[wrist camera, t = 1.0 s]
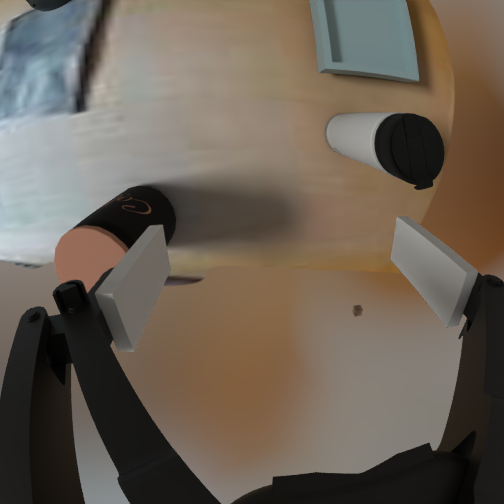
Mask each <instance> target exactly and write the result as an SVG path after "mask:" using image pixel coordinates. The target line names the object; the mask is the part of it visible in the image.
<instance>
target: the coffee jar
mask: <svg viewBox="0 0 504 504" xmlns="http://www.w3.org/2000/svg"><path fill="white" fill-rule="evenodd" d="M175 224H176V217H175V213H174V209H173V207H172V205H171V204H170V202H169V200H168V199H167V198H166V197H165V196H164V195H163V194H162V193H161V192H159V191H158V190H155V189H153V188H151V187H147V186H136V187H132V188H129V189H127V190H126V191H124V192H123V193H121V194H120V195H118V196H117V197H115V198H114V199H112V200H111V201H109V202H108V203H106V204H105V205H103V206H102V207H100V208H99V209H98V210H96V211H95V212H93V213H92V214H91V215H89V216H88V217H86V218H85V219H84V220H82V221H81V222H80V223H79V224H77V225H76V226H75V227H74V228H73V229H71V230H69V231H68V232H67V233H66V234H65V235H63V236H62V237H61V238H60V241H59V243H58V245H57V247H56V249H55V259H54V262H55V268H56V273H57V276H58V278H59V280H60V282H61V284H62V283H64V282H67V281H70V280H81V281H82V282H83V283H84V286H85V289H86V291H87V293H88V292H89V291H90V289H91V288H92V287H93V286H94V284H95V283H96V282H97V281H98V279H99V278H100V277H101V276H102V274H103V273H104V272H106V271H107V270H109V269H110V268H115V266H116V265H117V264H118V263H119V261H120V260H121V259H122V258H123V257H124V255H125V254H126V253H127V252H128V251H129V249H130V248H131V247H132V246H133V245H134V243H135V242H136V241H137V240H138V239H139V237H140V236H141V235H142V234H143V233H144V232H145V231H146V229H147V228H148V227H149V226H152V225H163V229H164V235H165V241H166V247H167V245H168V243H169V241H170V240H171V238H172V236H173V233H174V231H175Z"/></svg>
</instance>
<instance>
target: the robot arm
mask: <svg viewBox="0 0 504 504" xmlns="http://www.w3.org/2000/svg"><path fill="white" fill-rule="evenodd" d="M26 1H27V2H28V3H29V4H30V6H31V7H33V8H34V9H37V10H40V11H50V10H54V9H56V8H58V7H60V6H62V5H64V4H65V3H67V2H68V1H69V0H26ZM390 260H391V261H392V262H393V263H394V264H395V265H396V266H397V267H398V268H399V270H400V271H401V272H402V273H403V274H404V275H405V276H406V278H407V279H408V280H409V281H410V282H411V283H412V285H413V286H414V287H415V288H416V289H417V291H418V292H419V293H420V294H421V296H422V297H423V298H424V299H425V300H426V302H427V303H428V304H429V305H430V306H431V308H432V309H433V310H434V312H435V313H436V314H437V316H438V317H439V318H440V319H441V321H442V322H443V323H444V325H445V326H446V327H447V328H448V327H452V326H456V325H459V322H460V320H461V318H462V315H463V314H464V315H465V316H466V317H467V320H466V322H465V325H464V327H463V329H462V331H461V333H460V335H459V339H460V338H461V336H463V342H462V350H461V358H460V364H459V371H458V377H457V382H456V387H455V392H454V396H453V401H452V405H451V409H450V413H449V417H448V420H447V424H446V428H445V431H444V434H443V438H442V441H441V443H440V445H439V447H438V449H437V450H436V451H432V449H431V446H430V443H427V444H424V445H421V446H419V447H416V448H413V449H411V450H407V451H405V452H402V453H398V454H396V455H394V456H393V457H391V458H389V459H388V460H386V461H384V462H382V463H380V464H379V465H377V466H375V467H373V468H371V469H370V470H367V471H365V472H363V473H359V474H341V473H319V472H315V473H308V474H299V475H289V476H278V477H273V482H272V485H269V486H265V487H262V488H259V489H257V490H254V491H251V492H249V493H247V494H245V495H243V496H242V497H240V498H238V499H237V500H235V501H234V502H233V503H231V504H504V282H503V281H502V280H501V279H499V278H498V277H496V276H493V275H484V276H482V275H481V274H480V273H479V272H478V271H477V270H476V269H475V268H473V267H472V266H471V265H470V264H469V263H468V262H466V261H465V260H464V259H463V258H462V257H460V256H459V255H458V254H457V253H456V252H454V251H453V250H452V249H451V248H449V247H448V246H447V245H445V244H444V243H443V242H441V241H440V240H439V239H438V238H436V237H435V236H434V235H432V234H431V233H430V232H428V231H427V230H426V229H424V228H423V227H422V226H420V225H419V224H418V223H416V222H415V221H413V220H412V219H411V218H409V217H408V216H397V221H396V228H395V235H394V241H393V247H392V253H391V258H390ZM170 270H171V268H170V263H169V258H168V252H167V247H166V241H165V235H164V229H163V225H152V226H149V227H148V228H147V229H146V231H145V232H144V233H143V234H142V235H141V236H140V237H139V239H138V240H137V241H136V242H135V243H134V245H133V246H132V247H131V248H130V249H129V251H128V252H127V253H126V254H125V255H124V257H123V258H122V259H121V260H120V261H119V263H118V264H117V265H116V266H115V268H110V269H109V270H107V271H106V272H104V273H103V274H102V276H101V277H100V278H99V279H98V281H97V282H96V283H95V284H94V286H93V287H92V288H91V289H90V291H89V292H88V293H87V291H86V289H85V286H84V283H83V282H82V281H81V280H70V281H67V282H64V283H62V284H61V285H59V286H58V287H57V288H56V289H55V290H54V291H53V297H54V299H55V302H56V304H57V306H58V309H59V311H60V313H61V314H59V315H54V316H48V314H47V312H46V309H45V308H44V307H34V308H30V309H29V310H27V311H26V312H25V313H24V314H23V315H22V317H21V319H20V322H19V325H18V328H17V331H16V334H15V337H14V341H13V344H12V348H11V351H10V356H9V359H8V363H7V367H6V372H5V376H4V381H3V386H2V391H1V397H0V504H85V501H84V497H83V492H82V488H81V483H80V479H79V478H80V477H79V472H78V466H77V459H76V452H75V444H74V436H73V435H74V434H73V423H72V406H71V363H73V365H74V368H75V371H76V374H77V378H78V381H79V384H80V387H81V390H82V392H83V395H84V398H85V400H86V403H87V406H88V408H89V411H90V413H91V416H92V418H93V421H94V422H95V425H96V428H97V430H98V432H99V434H100V436H101V439H102V441H103V443H104V445H105V447H106V449H107V451H108V453H109V455H110V457H111V459H112V461H113V463H114V465H115V466H116V468H117V471H118V472H119V477H118V478H117V479H118V483H119V485H120V487H121V489H122V491H123V493H124V494H125V496H126V498H127V499H128V501H129V502H130V504H221V503H220V502H219V501H218V500H217V499H216V498H215V497H214V496H213V495H212V494H211V493H210V491H209V490H208V489H207V488H206V487H205V486H204V485H203V484H202V483H201V481H200V480H199V479H198V478H197V477H196V476H195V474H194V473H193V472H192V471H191V470H190V469H189V467H188V466H187V465H186V464H185V463H184V461H183V460H182V459H181V457H180V456H179V455H178V454H177V452H175V450H174V449H173V448H172V446H171V445H170V444H169V442H168V441H167V440H166V438H165V437H164V436H163V434H162V433H161V431H160V430H159V428H158V427H157V426H156V424H155V423H154V421H153V420H152V418H151V417H150V415H149V414H148V412H147V410H146V409H145V407H144V406H143V404H142V402H141V401H140V399H139V398H138V396H137V394H136V393H135V391H134V389H133V388H132V386H131V384H130V382H129V381H128V379H127V377H126V376H125V373H124V372H123V370H122V368H121V366H120V364H119V362H118V360H117V359H116V357H115V355H114V353H113V351H112V349H111V347H110V345H111V343H112V341H114V343H115V345H116V347H117V349H118V350H120V351H132V352H134V351H135V349H136V346H137V344H138V342H139V339H140V337H141V335H142V332H143V330H144V327H145V325H146V323H147V321H148V318H149V316H150V313H151V311H152V309H153V307H154V305H155V303H156V300H157V298H158V296H159V294H160V291H161V289H162V287H163V285H164V283H165V281H166V279H167V277H168V274H169V272H170Z"/></svg>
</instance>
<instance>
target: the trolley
mask: <svg viewBox="0 0 504 504" xmlns="http://www.w3.org/2000/svg"><path fill="white" fill-rule="evenodd" d="M309 1H310V7H311V14H312V21H313V28H314V35H315V43H316V52H317V61H318V71H319V73H333V74H347V75H357V76H367V77H375V78H382V79H389V80H395V81H401V82H406V83H409V82H417V81H419V73H418V64H417V56H416V49H415V43H414V37H413V31H412V26H411V21H410V16H409V12H408V7H407V3H406V0H309Z"/></svg>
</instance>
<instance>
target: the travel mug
mask: <svg viewBox="0 0 504 504" xmlns="http://www.w3.org/2000/svg"><path fill="white" fill-rule="evenodd" d="M325 138H326V141H327V143H328V145H329V146H330V148H331V149H332V150H334V151H335V152H337V153H339V154H341V155H344V156H346V157H349V158H352V159H354V160H357V161H359V162H361V163H364V164H366V165H369V166H371V167H373V168H376V169H378V170H380V171H382V172H385V173H387V174H389V175H391V176H394V177H397V178H399V179H401V180H404V181H406V182H408V183H410V184H414V185H417V186H415V187H414V188H415V189H417V190H422V189H426V188H430V187H432V186H433V180H434V179H435V178H436V177H437V176H438V174H439V172H440V171H441V168H442V166H443V162H444V145H443V141H442V138H441V136H440V133H439V131H438V130H437V128H436V127H435V126H434V124H433V123H432V122H431V121H430V120H428V119H427V118H425V117H422V116H419V115H416V114H411V113H397V112H370V113H343V114H338V115H335V116H333V117H332V118H331V119H330V120H329V121H328V123H327V125H326V128H325Z"/></svg>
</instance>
